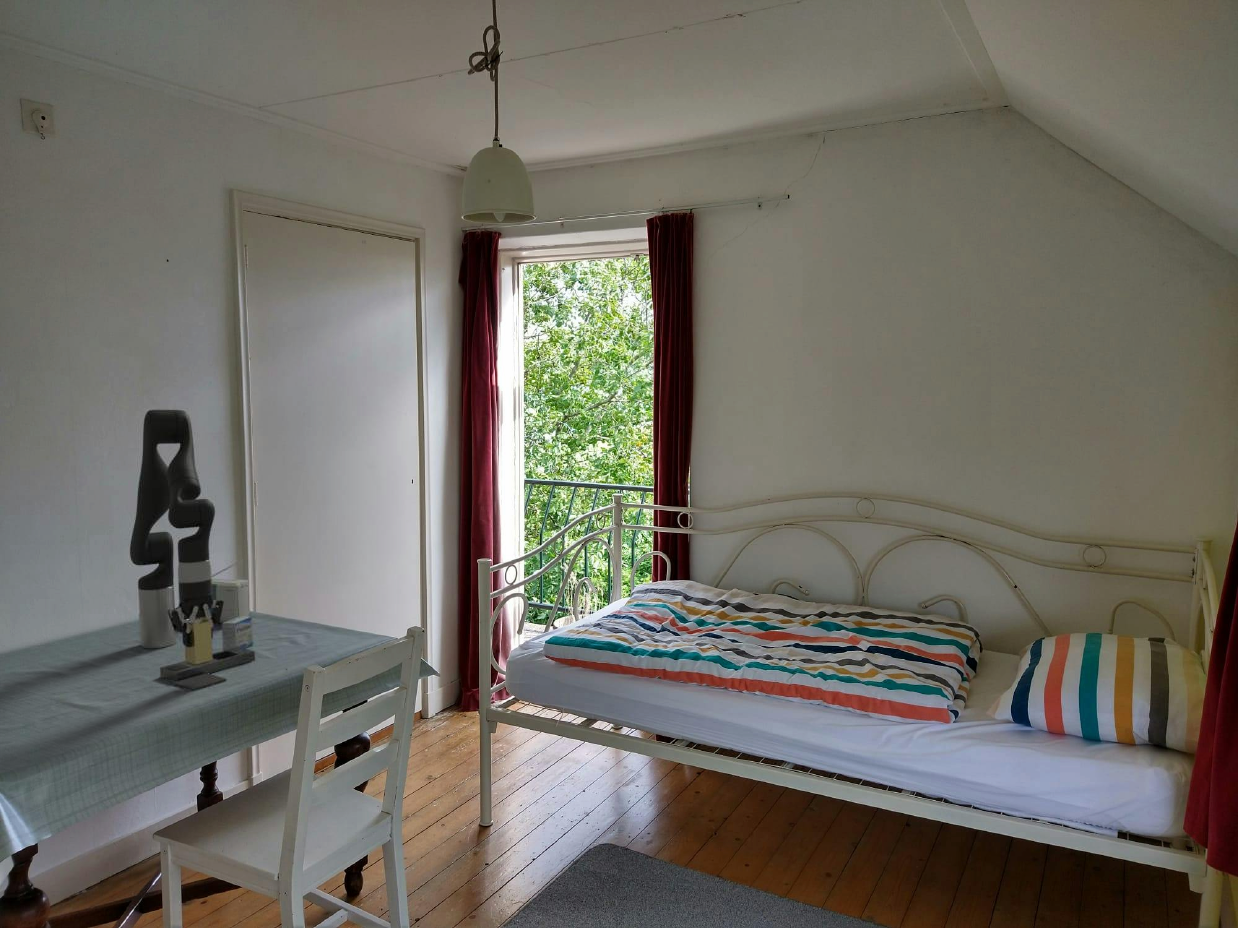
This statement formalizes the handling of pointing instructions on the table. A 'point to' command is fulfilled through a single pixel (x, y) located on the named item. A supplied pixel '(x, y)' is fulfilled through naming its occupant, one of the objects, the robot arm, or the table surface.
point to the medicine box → (237, 633)
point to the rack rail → (207, 664)
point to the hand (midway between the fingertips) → (198, 643)
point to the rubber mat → (199, 681)
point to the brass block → (200, 643)
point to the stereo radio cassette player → (229, 597)
